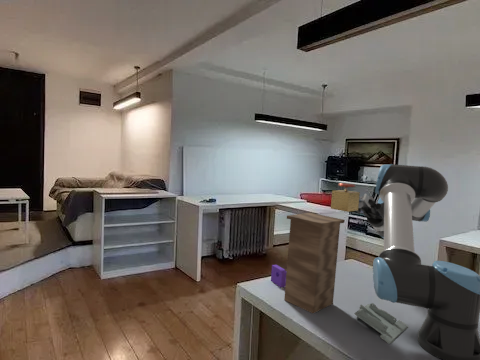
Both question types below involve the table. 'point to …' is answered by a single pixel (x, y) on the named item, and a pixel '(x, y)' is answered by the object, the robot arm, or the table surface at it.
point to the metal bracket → (381, 322)
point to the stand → (312, 260)
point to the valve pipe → (347, 199)
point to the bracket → (278, 276)
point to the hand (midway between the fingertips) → (358, 195)
